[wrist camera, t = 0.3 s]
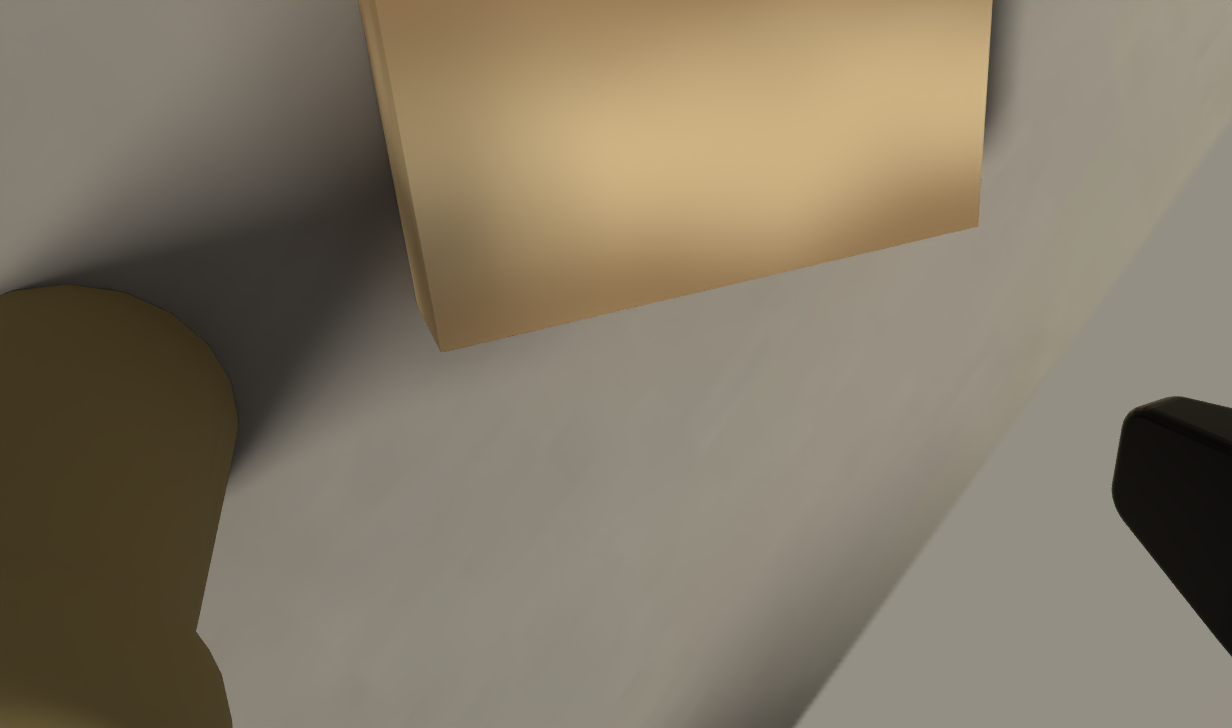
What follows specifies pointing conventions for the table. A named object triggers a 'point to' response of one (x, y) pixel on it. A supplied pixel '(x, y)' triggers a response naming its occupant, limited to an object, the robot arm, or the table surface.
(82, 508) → the cork
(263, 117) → the table surface
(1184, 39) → the table surface
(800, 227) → the oak board
